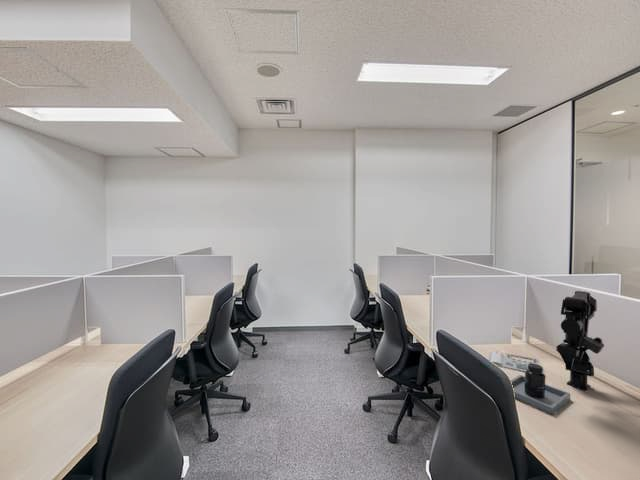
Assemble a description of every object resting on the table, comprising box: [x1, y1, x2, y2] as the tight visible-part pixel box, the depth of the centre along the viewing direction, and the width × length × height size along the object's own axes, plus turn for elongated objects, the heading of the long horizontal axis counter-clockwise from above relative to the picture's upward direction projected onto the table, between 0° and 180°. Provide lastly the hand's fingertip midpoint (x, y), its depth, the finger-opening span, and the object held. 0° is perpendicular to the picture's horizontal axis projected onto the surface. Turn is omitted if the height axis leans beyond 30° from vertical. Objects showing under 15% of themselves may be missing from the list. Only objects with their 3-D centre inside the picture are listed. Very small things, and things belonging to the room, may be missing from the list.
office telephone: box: [488, 350, 546, 376], centre depth 149 cm, size 23×3×20 cm
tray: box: [510, 374, 571, 416], centre depth 118 cm, size 18×18×3 cm
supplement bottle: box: [524, 362, 546, 398], centre depth 118 cm, size 7×7×12 cm
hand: (573, 366), depth 117 cm, fingers open, 9 cm apart
